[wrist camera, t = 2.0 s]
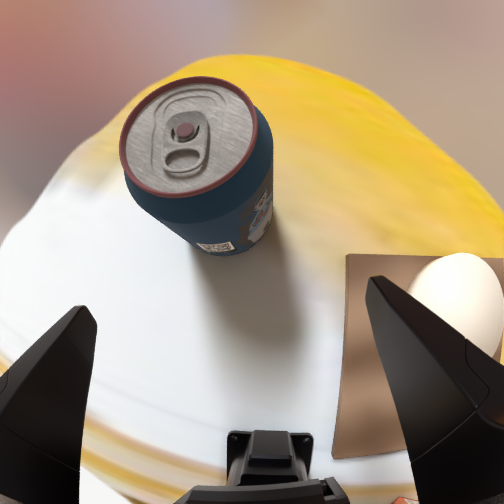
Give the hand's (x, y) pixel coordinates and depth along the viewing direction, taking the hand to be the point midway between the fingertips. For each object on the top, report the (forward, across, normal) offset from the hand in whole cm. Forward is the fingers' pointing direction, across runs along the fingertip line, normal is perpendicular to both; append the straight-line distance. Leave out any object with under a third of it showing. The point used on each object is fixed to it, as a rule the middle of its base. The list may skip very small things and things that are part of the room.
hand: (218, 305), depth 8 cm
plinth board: (+4, -14, +14) cm, 20 cm away
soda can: (+14, +1, +4) cm, 15 cm away
